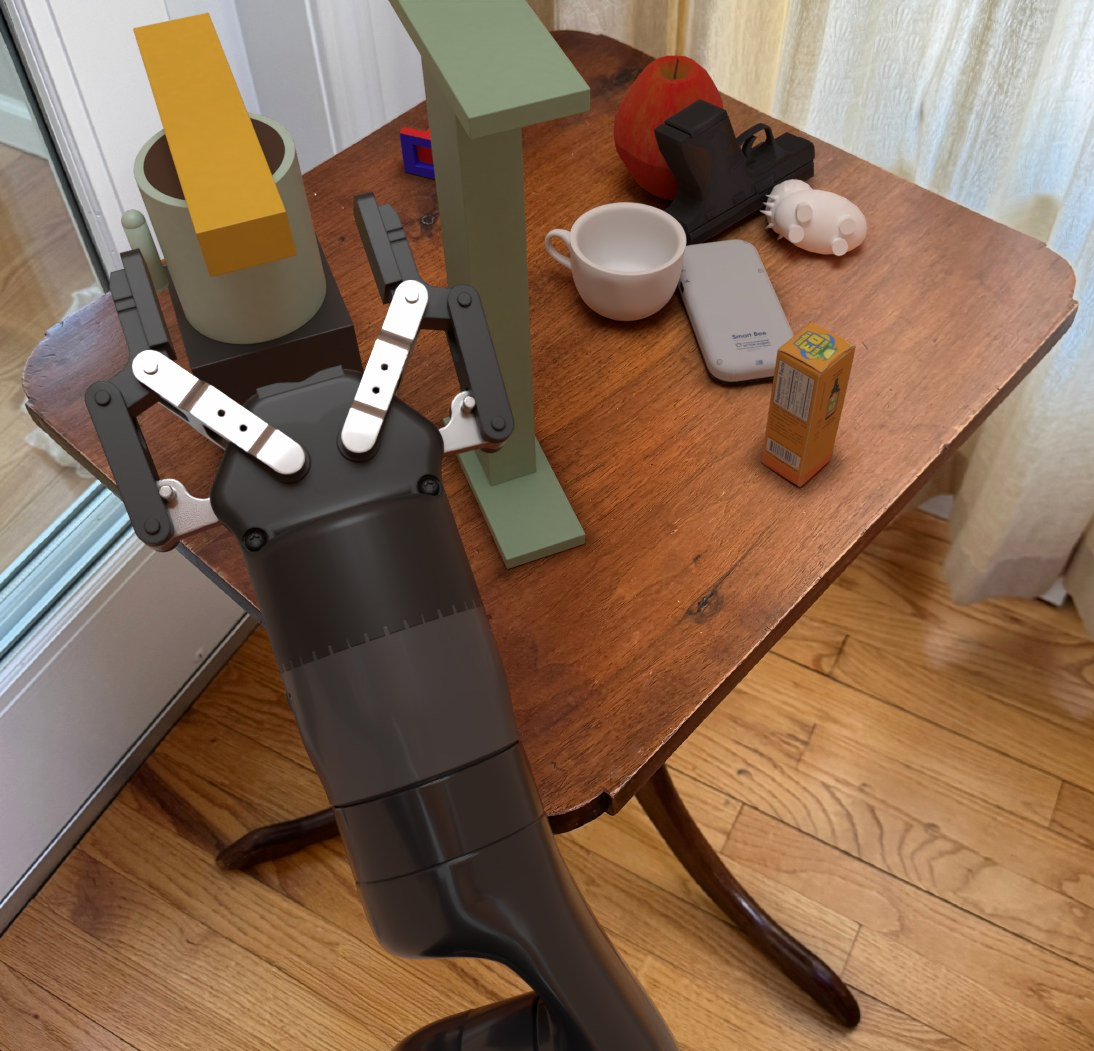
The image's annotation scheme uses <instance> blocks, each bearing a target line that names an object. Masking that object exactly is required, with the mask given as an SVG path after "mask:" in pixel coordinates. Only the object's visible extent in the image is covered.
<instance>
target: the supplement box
mask: <svg viewBox="0 0 1094 1051" xmlns="http://www.w3.org/2000/svg"><path fill="white" fill-rule="evenodd" d="M855 352H856V344H855V343H853V342H851V341H848V340H847V339H845V338H843V337H841V336H839V335H837V334H835V333H833V332H832V331H830V330H828V329H827V328H824V327H822V326H820V325H819V324H817V323H814V322H809V323H808V324H807V325H805V326H804V327H803V328H802V329H800V330H799V331H798V332H797V333H796V334H794V336H793V337H792V338H791V339H790V340H789V341H787V342H786V343H785V344H784V345H782V346H781V347H780V348H779V349H778V350H777V357H776V365H775V372H774V379H772V386H771V393H770V399H769V400H770V401H769V407H768V413H767V422H766V427H765V434H764V442H763V448H762V456H761V463H762V464H763V465H764V466H766V467H768V468H769V469H770V470H772V471H773V472H775V473H777V474H778V475H779V476H781V477H782V478H784V479H786V480H788V481H789V482H791V483H793V485H796V486H797V487H800V488H801V487H802V486H803V485H805V484H806V483H807V482H808V481H809V480H810V479H811V478H813V477H814V476H815V475H816V474H817V473H818V472H819V471H820V470H821V469H822V468H824V466H825V465H826V464H828V463H829V462H830V461H831V459H832V456H833V451H834V447H835V444H836V440H837V435H838V430H839V425H840V422H841V417H842V413H843V408H844V403H845V400H846V394H847V390H848V386H849V382H850V381H849V379H850V376H851V371H852V366H853V362H854V357H855Z"/></svg>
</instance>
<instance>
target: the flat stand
mask: <svg viewBox="0 0 1094 1051" xmlns="http://www.w3.org/2000/svg"><path fill="white" fill-rule="evenodd" d="M387 1H388V2H389V4H390V6H391V8H392V9H393V10H394V12H395V14H396V15H397V17H398V19H399V21H400V23H401V24H402V26H403V27H404V29H405V31H406V33H407V35H408V36H409V38H410V40H411V41H412V43H413V44H414V46H415V48H416V50H417V51H418V53H419V55H420V60H421V68H422V70H421V71H422V77H423V87H424V93H425V94H424V95H425V103H426V111H427V113H426V114H427V120H428V126H429V130H430V138H431V147H432V155H433V164H434V172H435V179H434V181H435V188H436V197H437V205H438V214H439V221H440V222H439V223H440V229H441V230H440V231H441V232H440V233H441V240H442V248H443V256H444V265H445V273H446V274H445V275H446V284H447V288H453V287H455V286H457V285H460V284H467V285H470V286H472V287H474V288H475V289H476V290H477V291H478V293H479V295H480V299H481V302H482V306H483V309H484V313H485V317H486V320H487V324H488V328H489V331H490V335H491V338H492V342H493V346H494V349H495V353H496V356H497V360H498V364H499V367H500V371H501V374H502V378H503V382H504V385H505V389H506V393H507V396H508V400H509V403H510V407H511V411H512V414H513V418H514V422H515V426H514V430H513V432H512V433H511V435H510V437H509V438H508V440H507V441H506V443H505V445H504V446H503V448H502V449H501V450H499V451H498V452H496V453H485V452H483V451H481V450H480V449H477V450H473V451H468V452H464V453H460V454H456V455H455V456H456V459H457V461H458V463H459V466H460V467H461V470H462V472H463V474H464V476H465V479H466V481H467V484H468V485H469V487H470V490H471V492H472V494H473V497H474V499H475V501H476V503H477V505H478V508H479V510H480V512H481V514H482V516H483V518H484V521H485V524H486V526H487V528H488V530H489V533H490V534H491V537H492V538H493V541H494V543H495V545H496V547H497V550H498V552H499V555H500V557H501V559H502V561H503V563H504V566H505V567H506V569H508V570H509V569H512V568H515V567H518V566H521V565H524V564H527V563H530V562H533V561H536V560H539V559H542V558H545V557H548V556H551V555H554V554H557V553H560V552H564V551H567V550H570V549H572V548H576V547H579V546H582V545H585V544H586V533H585V531H584V529H583V526H582V524H581V522H580V521H579V519H578V517H577V515H576V512H575V511H574V508H573V507H572V505H571V503H570V501H569V499H568V497H567V495H566V493H565V491H564V489H563V487H562V486H561V483H560V482H559V480H558V477H557V476H556V473H555V472H554V470H553V467H552V465H551V464H550V462H549V460H548V457H546V454H545V452H544V451H543V448H542V446H541V444H540V442H539V439H538V438H537V437H536V431H535V430H536V428H535V408H534V389H533V388H534V385H533V384H534V383H533V382H534V381H533V362H532V361H533V360H532V342H531V341H532V338H531V319H530V318H531V316H530V295H529V294H530V293H529V292H530V291H529V271H528V270H529V269H528V268H529V266H528V246H527V224H526V223H527V222H526V202H525V201H526V199H525V181H524V180H525V179H524V159H523V158H524V156H523V133H522V132H523V131H522V129H523V128H525V127H530V126H533V125H537V124H541V123H545V122H550V121H554V120H557V119H558V120H559V119H561V118H566V117H569V116H570V117H571V116H574V115H579V114H582V113H586V112H590V110H591V88H590V85H588V82H586V80H585V79H584V78H583V77H582V75H581V73H580V72H579V71H578V70H577V68H576V67H575V66H574V63H572V61H571V60H570V58H569V57H568V56H567V55H566V53H565V52H564V51H563V49H562V48H561V47H560V45H559V44H558V42H557V41H556V40H555V38H554V37H553V35H552V33H550V31H549V29H547V27H546V26H545V25H544V23H543V22H542V20H541V19H540V18H539V16H538V15H537V14H536V12H535V11H534V10H533V8H532V7H531V5H530V3H528V1H527V0H387ZM459 393H461V389H460V388H459ZM449 421H450V416H446V417H443V418H442V424H443V427H445V426H446V425H447V424H448V423H449Z"/></svg>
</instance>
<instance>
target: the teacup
mask: <svg viewBox="0 0 1094 1051" xmlns="http://www.w3.org/2000/svg"><path fill="white" fill-rule="evenodd" d="M552 238H559V239H560V240H562V242H564V244H565V246H566V247H567V249H568V251H569V253H570V254H569V255H570V257H568V256H565V255H563V254H561V253H560V252H559V251H557V250H556V249H555V247H554V246H553V243H552ZM543 242H544V248H545V250H546V252H547V253H548V255H549V256H550V257H551V258H552V259H554V260H555V261H556V262H557V263H559V264H560V265H562V266H563V267H564V268H566V269H567V270H569V271H570V272H571V274H572V278H573V283H574V286H575V288H576V290H577V292H578V295H579V297H580V298H581V299H582V301H583V302H584V304H586V306H588V307H589V308H590V309H591V310H592V311H593V312H595V313H596V314H598V315H600V316H602V317H604V318H606V319H610V320H613V321H619V322H620V321H621V322H632V321H638V320H642V319H646V318H648V317H651V316H652V315H654V314H657V312H659V311H660V310H662V309H663V308H664V307H665V306H666V305H667V304H668V303H669V301H670V300H671V299H672V297H673V295H674V293H675V292H676V289H677V288H678V286H677V284H678V282H679V278H680V275H681V270H682V265H683V260H684V254H685V248H686V235H685V232H684V230H683V228H682V226H681V225H680V224H679V222H678V221H677V220H676V219H675V218H673V217H672V216H671V215H669V214H668V213H666V212H664V211H663V210H662V209H660V208H657V207H655V206H651V205H648V204H644V203H639V202H628V201H627V202H625V201H624V202H613V203H612V202H611V203H606V204H603V205H599V206H596V207H593V208H591V209H590V210H588V211H586V212H584V213H583V214H581V215H580V216H579V217H578V218H577V219H576V220H575V221H574V223H573V224H572V227H571V229H570V231H569V230H567V229H562V228H554V229H552V230H550V231H549V232H547V234H546V236H545V237H544V241H543Z"/></svg>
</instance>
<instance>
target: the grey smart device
mask: <svg viewBox="0 0 1094 1051" xmlns="http://www.w3.org/2000/svg"><path fill="white" fill-rule="evenodd" d="M677 289H678V292H679V295H680V298H681V300H682V303H683V306H684V309H685V311H686V314H687V317H688V319H689V322H690V325H691V327H692V331H693V333H694V336H695V340H696V341H697V344H698V347H699V350H700V353H701V355H702V358H703V361H704V363H705V366H706V369H707V372H708V373H709V375H710V377H712V378H713V379H714V380H715V381H717V382H718V383H721V384H724V385H740V384H746V383H754V382H760V381H768V380H773V379H774V372H775V365H776V357H777V350H778V349H779V348H780V347H781V346H782V345H784V344H785V343H786V342H787V341H789V340H790V339H791V338H792V337H793V336H795V334H794V332H793V329H792V327H791V325H790V323H789V321H788V318H787V316H786V313H785V311H784V309H783V306H782V304H781V301H780V300H779V297H778V295H777V293H776V291H775V288H774V286H773V284H772V282H771V279H770V276H769V275H768V271H767V270H766V268H765V265H764V263H763V260H762V258H761V256H760V253H759V251H758V250H757V248H756V246H755V245H753V244H752V243H750V242H749V241H747V240H743V239H726V240H720V241H712V242H706V243H705V242H702V243H700V244H696V245H689V246H686V248H685V254H684V260H683V265H682V270H681V275H680V278H679V282H678V284H677Z"/></svg>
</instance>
